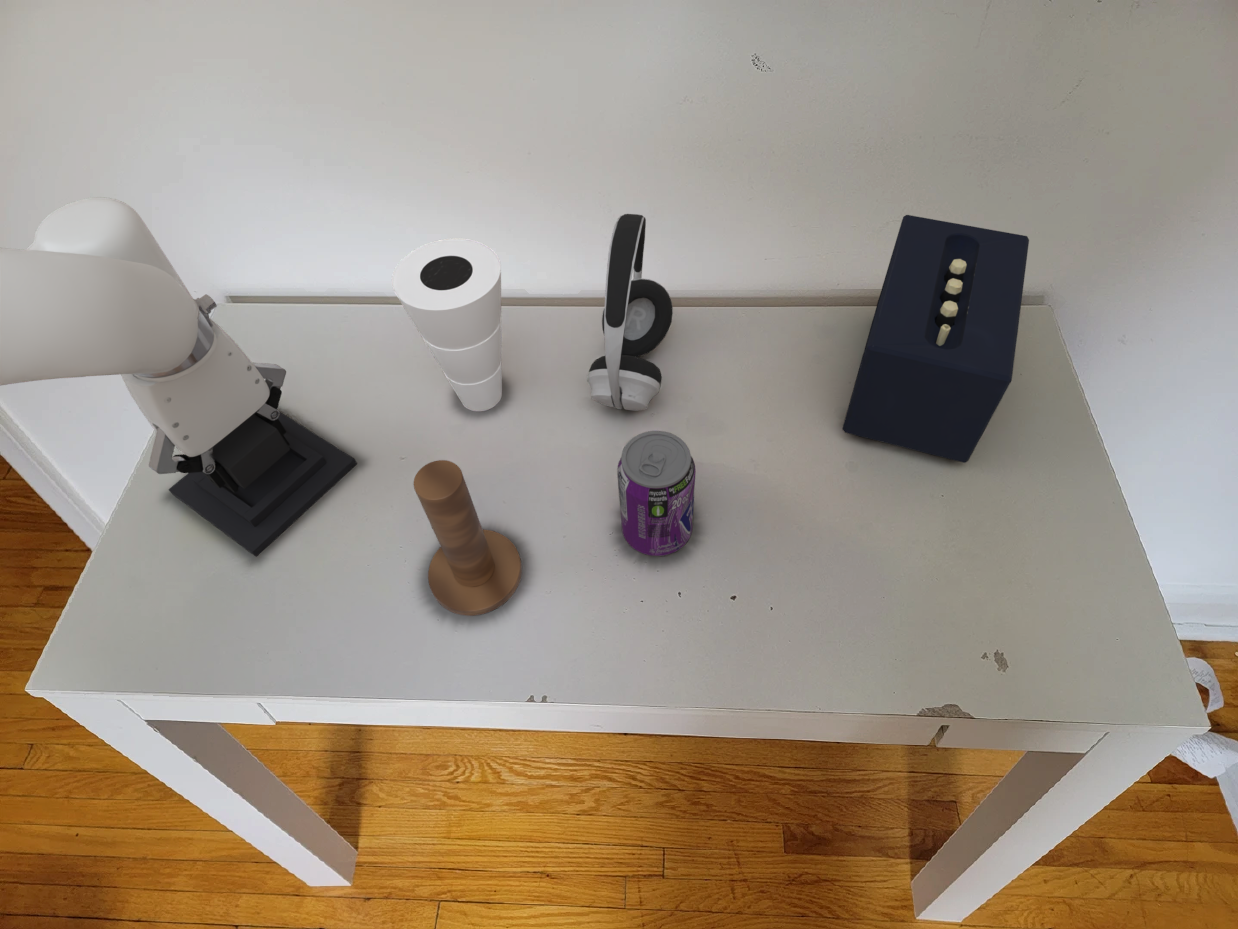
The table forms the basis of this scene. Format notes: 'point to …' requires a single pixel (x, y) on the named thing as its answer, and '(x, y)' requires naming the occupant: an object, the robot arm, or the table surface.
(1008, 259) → the speaker
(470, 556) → the stand
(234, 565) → the table surface
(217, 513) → the base pad
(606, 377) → the headphones
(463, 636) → the table surface
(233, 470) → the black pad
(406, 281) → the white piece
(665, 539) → the beverage can
